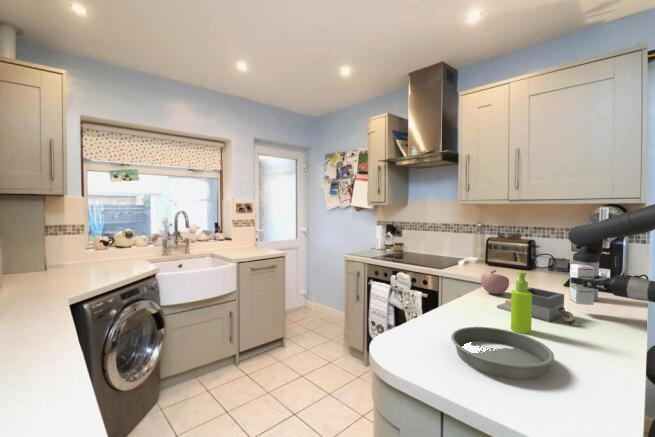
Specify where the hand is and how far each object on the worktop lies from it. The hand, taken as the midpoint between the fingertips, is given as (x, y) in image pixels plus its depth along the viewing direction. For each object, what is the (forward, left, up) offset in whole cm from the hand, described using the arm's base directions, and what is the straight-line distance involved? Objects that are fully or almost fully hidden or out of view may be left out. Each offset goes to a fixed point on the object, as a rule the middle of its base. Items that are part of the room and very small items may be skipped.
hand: (576, 278), depth 122 cm
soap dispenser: (+36, -3, -14) cm, 39 cm away
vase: (+16, +3, -14) cm, 22 cm away
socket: (+14, -10, -14) cm, 22 cm away
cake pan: (+62, +4, -14) cm, 64 cm away
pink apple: (0, -32, -14) cm, 35 cm away
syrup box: (0, +2, -9) cm, 9 cm away
